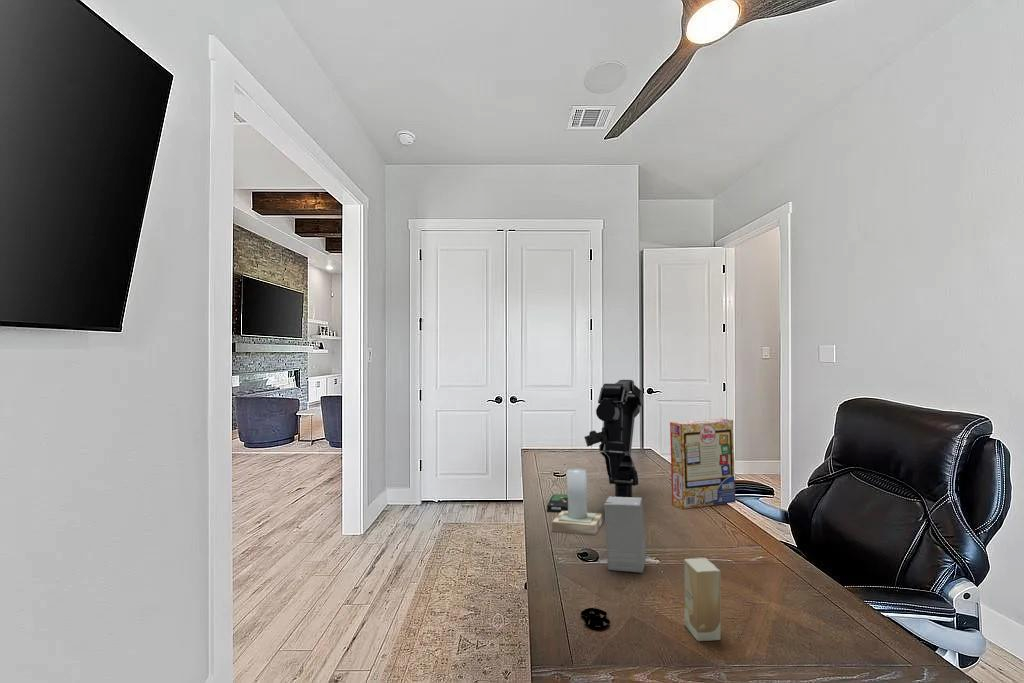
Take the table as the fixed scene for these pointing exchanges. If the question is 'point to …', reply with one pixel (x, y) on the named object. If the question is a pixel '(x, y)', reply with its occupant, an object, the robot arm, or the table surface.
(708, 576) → the skincare box
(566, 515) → the square picture frame
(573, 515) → the ceramic canister
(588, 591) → the table surface
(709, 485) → the board game box
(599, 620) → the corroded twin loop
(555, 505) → the disk drive
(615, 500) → the skincare box
